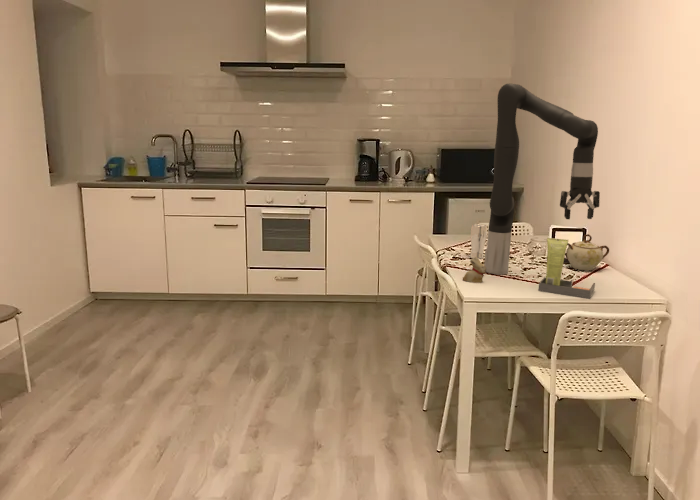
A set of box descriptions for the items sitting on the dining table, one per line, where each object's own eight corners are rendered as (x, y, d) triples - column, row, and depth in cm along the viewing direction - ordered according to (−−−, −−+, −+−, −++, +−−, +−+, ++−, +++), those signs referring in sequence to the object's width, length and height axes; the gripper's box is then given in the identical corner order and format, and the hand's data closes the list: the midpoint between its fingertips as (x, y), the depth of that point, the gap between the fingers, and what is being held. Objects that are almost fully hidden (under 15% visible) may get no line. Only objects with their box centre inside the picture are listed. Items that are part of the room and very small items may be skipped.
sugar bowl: (601, 265, 265) (605, 232, 262) (612, 274, 251) (616, 238, 248) (555, 263, 268) (559, 230, 264) (563, 271, 253) (567, 236, 250)
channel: (538, 290, 223) (539, 282, 223) (544, 283, 234) (545, 276, 233) (589, 298, 215) (590, 290, 214) (594, 290, 225) (595, 283, 224)
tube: (553, 286, 229) (558, 236, 225) (563, 290, 224) (568, 239, 220) (542, 288, 226) (547, 237, 222) (551, 292, 222) (557, 240, 218)
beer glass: (469, 258, 272) (471, 226, 268) (468, 255, 278) (471, 223, 275) (484, 259, 270) (487, 226, 267) (484, 256, 277) (486, 224, 274)
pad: (571, 290, 224) (571, 289, 224) (573, 287, 229) (573, 286, 229) (589, 293, 221) (589, 292, 221) (591, 290, 226) (591, 289, 226)
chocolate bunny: (478, 284, 230) (480, 259, 227) (461, 280, 235) (462, 255, 233) (486, 282, 234) (488, 257, 231) (468, 277, 239) (470, 253, 237)
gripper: (595, 174, 226) (591, 217, 228) (558, 174, 224) (555, 217, 227) (605, 175, 218) (601, 220, 221) (568, 175, 217) (564, 220, 220)
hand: (578, 219), depth 224 cm, fingers open, 8 cm apart
